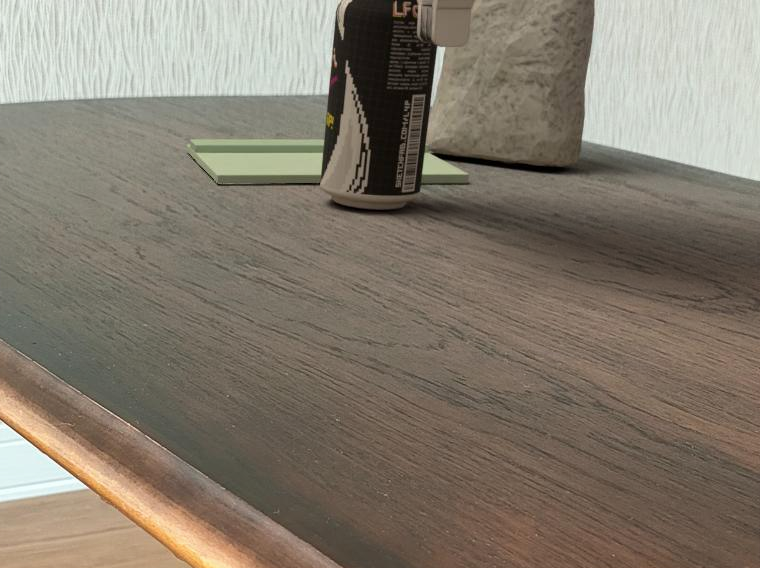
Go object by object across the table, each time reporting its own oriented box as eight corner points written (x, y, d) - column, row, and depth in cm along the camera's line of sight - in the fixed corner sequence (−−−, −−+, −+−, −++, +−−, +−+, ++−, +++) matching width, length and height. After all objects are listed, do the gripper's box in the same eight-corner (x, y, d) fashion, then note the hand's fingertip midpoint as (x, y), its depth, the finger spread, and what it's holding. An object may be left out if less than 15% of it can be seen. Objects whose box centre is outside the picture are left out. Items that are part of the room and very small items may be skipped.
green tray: (411, 152, 101) (413, 136, 101) (468, 183, 91) (470, 165, 90) (186, 152, 99) (186, 136, 98) (217, 184, 88) (217, 166, 87)
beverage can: (329, 189, 87) (349, -26, 82) (424, 200, 85) (450, -18, 80) (309, 205, 81) (329, -23, 77) (410, 217, 80) (437, -14, 75)
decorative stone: (593, 167, 98) (624, -74, 92) (545, 176, 94) (575, -75, 88) (460, 146, 105) (480, -79, 99) (410, 154, 101) (429, -80, 94)
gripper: (623, -300, 57) (586, 64, 63) (457, -251, 76) (440, 28, 81) (471, -305, 56) (447, 66, 62) (340, -254, 75) (331, 29, 80)
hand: (442, 44), depth 72 cm, fingers closed
